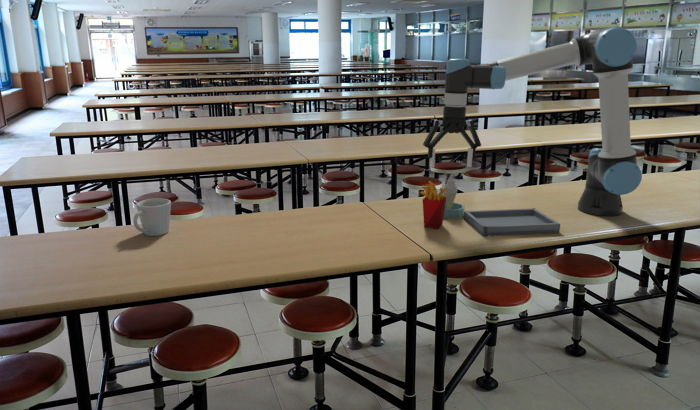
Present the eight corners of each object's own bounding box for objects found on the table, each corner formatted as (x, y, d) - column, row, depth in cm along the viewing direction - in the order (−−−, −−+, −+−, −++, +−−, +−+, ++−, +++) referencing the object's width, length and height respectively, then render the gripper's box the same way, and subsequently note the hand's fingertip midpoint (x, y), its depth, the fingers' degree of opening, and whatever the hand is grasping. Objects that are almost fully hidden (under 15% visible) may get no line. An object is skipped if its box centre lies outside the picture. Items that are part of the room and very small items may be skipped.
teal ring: (457, 209, 205) (458, 201, 204) (468, 217, 195) (468, 209, 194) (430, 210, 203) (430, 202, 202) (439, 218, 193) (439, 210, 192)
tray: (533, 216, 196) (534, 208, 196) (559, 232, 179) (560, 224, 178) (463, 219, 193) (464, 211, 192) (483, 236, 175) (483, 227, 175)
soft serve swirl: (455, 216, 196) (458, 175, 192) (441, 215, 197) (443, 174, 193) (456, 212, 201) (458, 172, 196) (441, 211, 202) (444, 171, 197)
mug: (180, 229, 180) (177, 199, 178) (150, 244, 167) (147, 212, 164) (153, 225, 184) (150, 196, 181) (122, 240, 170) (118, 208, 167)
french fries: (445, 224, 187) (448, 181, 182) (439, 231, 179) (441, 187, 175) (420, 221, 190) (422, 178, 186) (413, 228, 183) (414, 184, 179)
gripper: (485, 104, 194) (480, 163, 199) (416, 104, 190) (413, 164, 196) (494, 106, 186) (488, 168, 192) (422, 106, 183) (419, 169, 189)
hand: (450, 166), depth 194 cm, fingers open, 13 cm apart
